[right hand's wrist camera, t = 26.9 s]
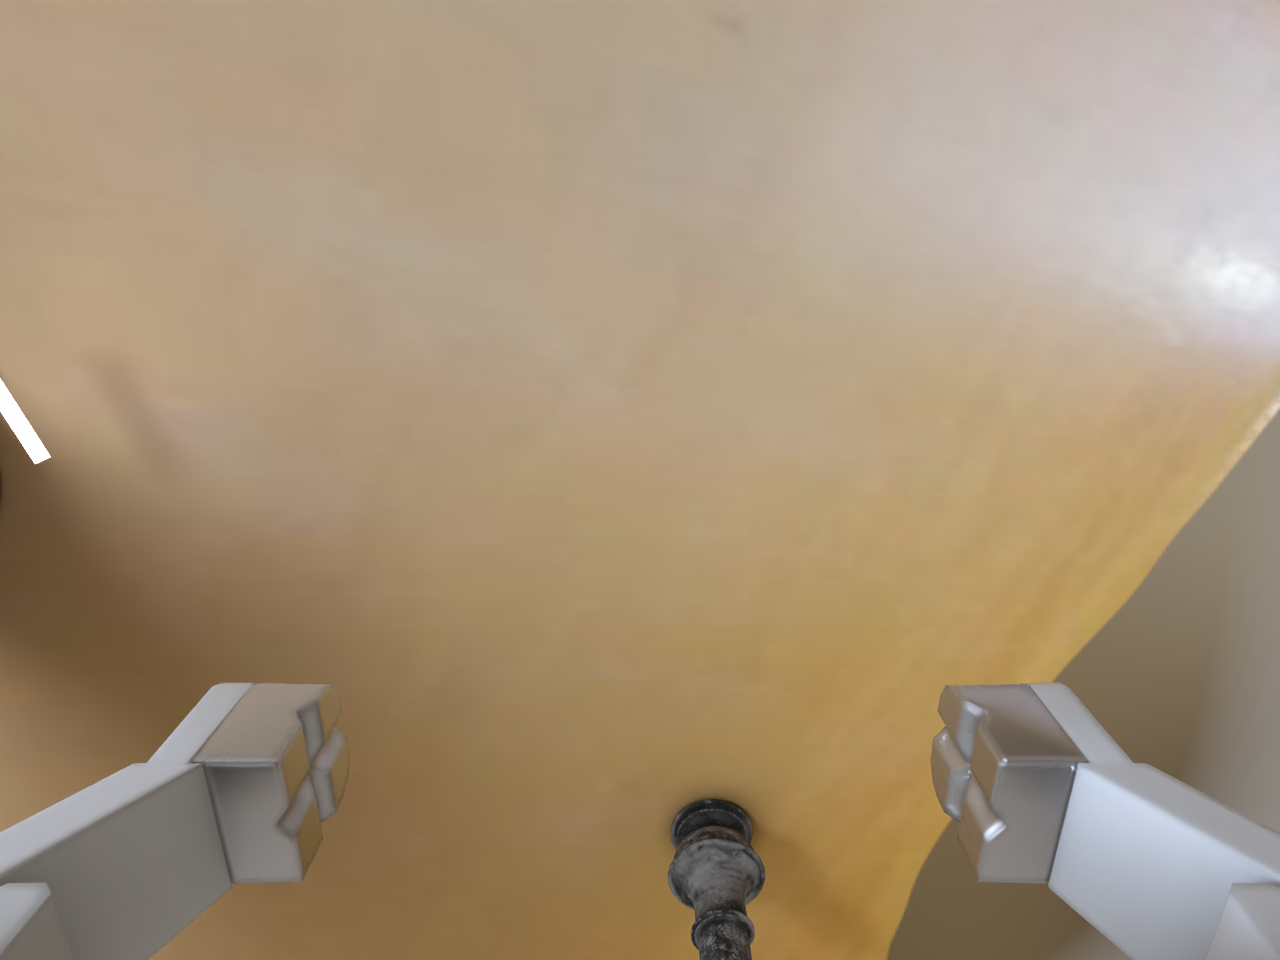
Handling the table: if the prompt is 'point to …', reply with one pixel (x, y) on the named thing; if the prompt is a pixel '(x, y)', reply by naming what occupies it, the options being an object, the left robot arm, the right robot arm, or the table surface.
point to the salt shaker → (716, 876)
